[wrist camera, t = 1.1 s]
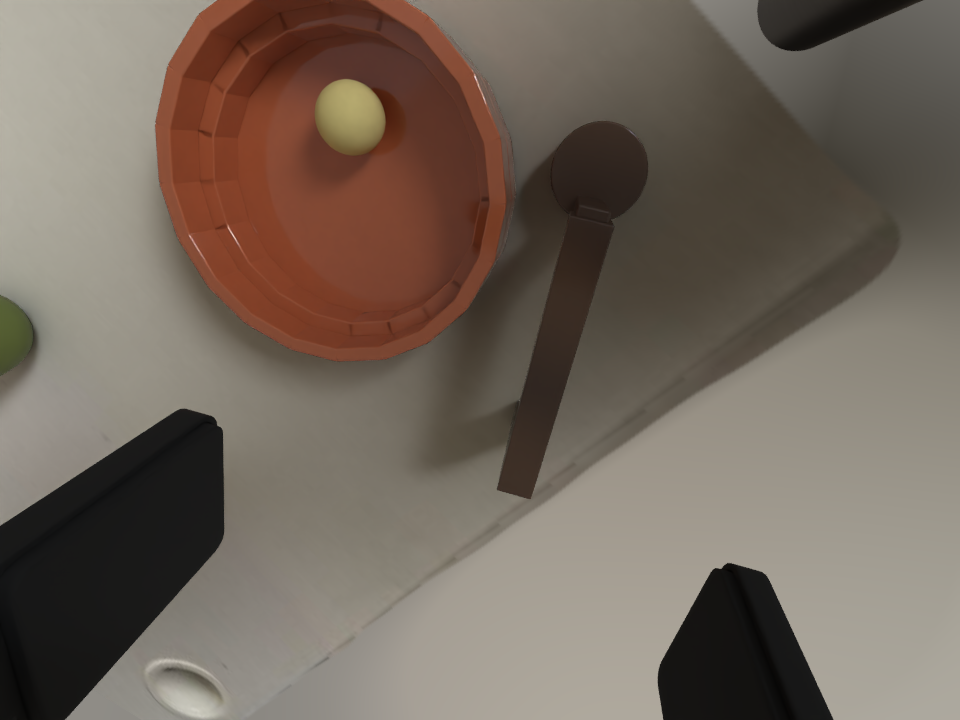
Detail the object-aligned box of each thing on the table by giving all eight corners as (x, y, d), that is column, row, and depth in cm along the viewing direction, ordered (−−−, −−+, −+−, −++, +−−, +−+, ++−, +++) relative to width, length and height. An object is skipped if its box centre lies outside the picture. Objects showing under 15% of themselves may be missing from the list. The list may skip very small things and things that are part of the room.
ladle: (565, 114, 22) (562, 101, 16) (654, 133, 22) (684, 127, 16) (491, 418, 29) (470, 486, 23) (559, 436, 28) (555, 510, 22)
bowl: (551, 38, 21) (547, 13, 17) (480, 361, 27) (465, 396, 23) (215, -30, 22) (140, -68, 18) (221, 295, 28) (167, 317, 25)
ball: (398, 90, 22) (374, 82, 20) (390, 161, 24) (366, 163, 21) (335, 77, 23) (303, 67, 20) (331, 147, 24) (299, 147, 21)
